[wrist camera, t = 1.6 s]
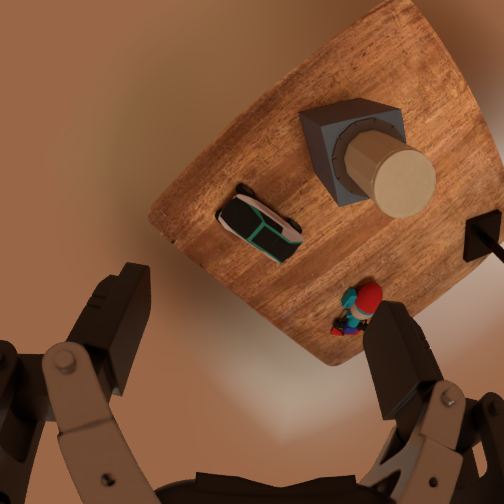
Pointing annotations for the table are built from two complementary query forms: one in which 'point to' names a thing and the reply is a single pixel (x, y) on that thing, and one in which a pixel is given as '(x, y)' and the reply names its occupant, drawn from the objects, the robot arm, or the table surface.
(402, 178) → the hat
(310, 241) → the table surface
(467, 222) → the hat stand
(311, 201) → the table surface
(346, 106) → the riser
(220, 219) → the toy car
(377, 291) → the toy figure
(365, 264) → the table surface
